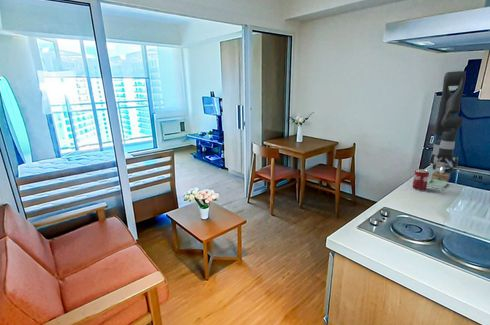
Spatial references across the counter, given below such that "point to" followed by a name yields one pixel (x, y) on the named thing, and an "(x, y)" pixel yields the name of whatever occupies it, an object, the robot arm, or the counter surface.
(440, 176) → the tan and green block
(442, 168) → the lock pin
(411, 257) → the counter surface
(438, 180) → the tray
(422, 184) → the soda can
